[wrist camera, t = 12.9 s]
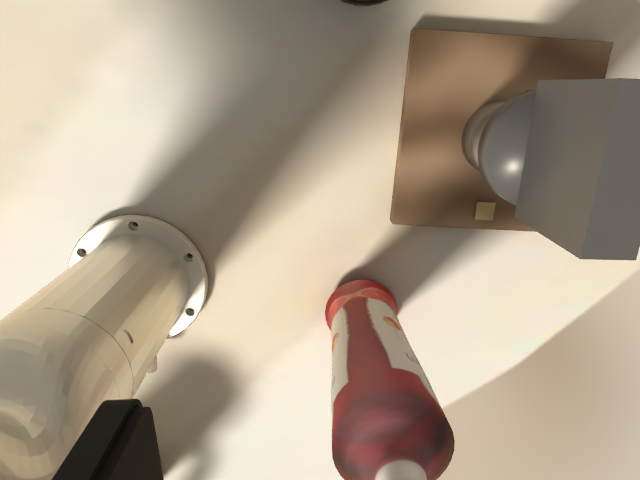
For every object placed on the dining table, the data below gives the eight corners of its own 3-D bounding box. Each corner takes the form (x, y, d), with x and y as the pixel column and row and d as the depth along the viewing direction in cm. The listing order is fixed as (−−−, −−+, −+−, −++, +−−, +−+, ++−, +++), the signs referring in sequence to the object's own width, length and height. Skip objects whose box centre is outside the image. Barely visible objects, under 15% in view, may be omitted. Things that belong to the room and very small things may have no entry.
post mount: (559, 228, 44) (612, 258, 36) (389, 219, 43) (407, 248, 35) (601, 43, 38) (674, 33, 31) (410, 30, 38) (436, 17, 30)
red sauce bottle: (311, 286, 45) (317, 580, 18) (384, 261, 44) (499, 527, 18) (337, 348, 47) (375, 690, 20) (406, 325, 46) (537, 647, 20)
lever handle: (603, 83, 32) (734, 82, 22) (575, 216, 34) (679, 268, 25) (487, 79, 31) (568, 76, 22) (468, 214, 34) (532, 265, 25)
